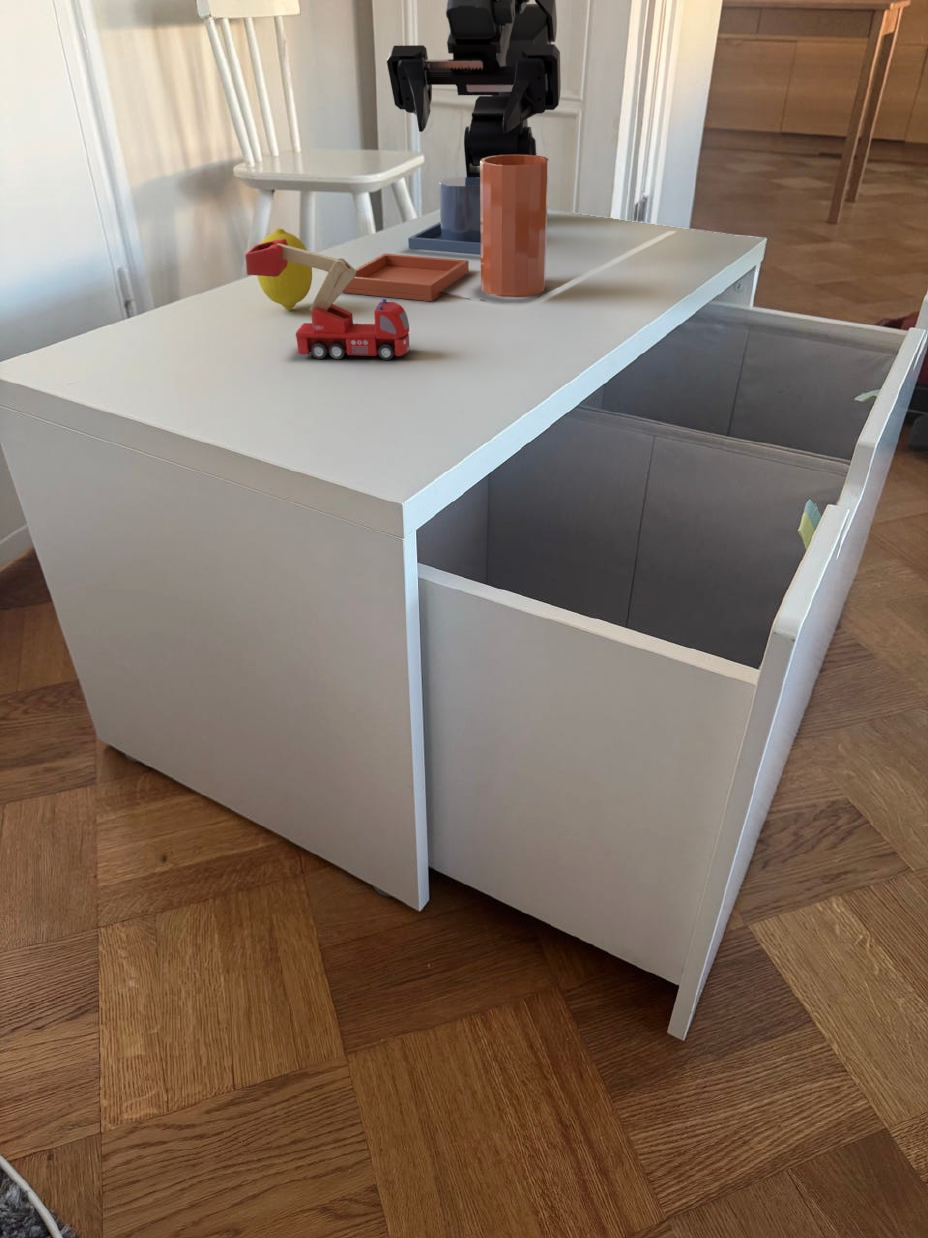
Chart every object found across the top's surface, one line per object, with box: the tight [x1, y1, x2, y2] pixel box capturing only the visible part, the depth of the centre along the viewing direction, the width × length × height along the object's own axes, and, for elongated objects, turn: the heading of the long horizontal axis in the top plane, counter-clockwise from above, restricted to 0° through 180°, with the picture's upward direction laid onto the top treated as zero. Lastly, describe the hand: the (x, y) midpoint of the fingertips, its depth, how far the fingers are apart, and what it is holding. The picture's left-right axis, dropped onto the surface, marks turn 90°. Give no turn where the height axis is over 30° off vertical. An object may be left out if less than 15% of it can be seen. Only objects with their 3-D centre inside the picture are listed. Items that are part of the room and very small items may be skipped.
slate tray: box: [407, 221, 481, 256], centre depth 116 cm, size 11×11×2 cm
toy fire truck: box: [244, 239, 410, 361], centre depth 81 cm, size 3×14×10 cm, turn 84°
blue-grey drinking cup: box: [438, 176, 481, 243], centre depth 114 cm, size 6×6×7 cm
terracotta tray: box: [342, 253, 470, 302], centre depth 102 cm, size 11×11×2 cm
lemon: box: [257, 227, 313, 311], centre depth 93 cm, size 6×6×8 cm
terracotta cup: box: [479, 154, 550, 299], centre depth 95 cm, size 7×7×13 cm
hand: (462, 127), depth 97 cm, fingers open, 9 cm apart
